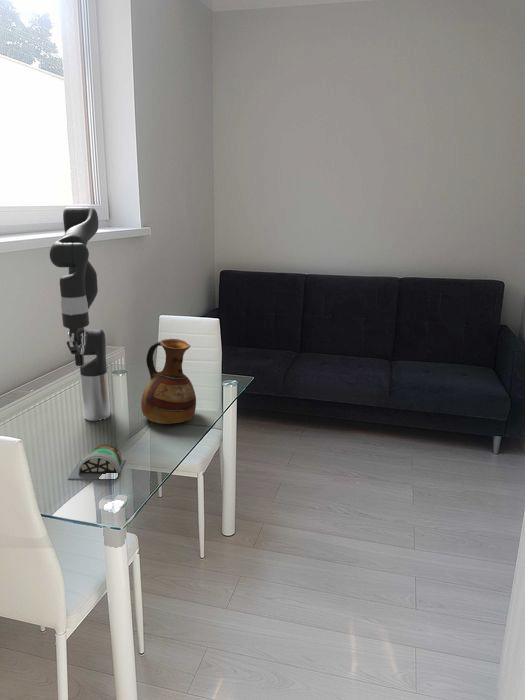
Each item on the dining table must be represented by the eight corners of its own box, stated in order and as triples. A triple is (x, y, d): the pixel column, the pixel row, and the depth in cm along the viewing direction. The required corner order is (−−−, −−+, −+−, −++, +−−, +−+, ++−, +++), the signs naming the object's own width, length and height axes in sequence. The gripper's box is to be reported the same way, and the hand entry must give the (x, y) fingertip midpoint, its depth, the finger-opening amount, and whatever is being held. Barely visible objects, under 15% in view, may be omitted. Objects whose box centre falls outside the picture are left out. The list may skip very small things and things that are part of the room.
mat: (80, 460, 164) (79, 459, 163) (125, 460, 164) (125, 459, 164) (68, 479, 153) (67, 478, 153) (116, 479, 153) (116, 478, 153)
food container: (125, 440, 163) (117, 455, 153) (126, 458, 165) (119, 474, 155) (84, 440, 162) (75, 456, 153) (86, 458, 164) (76, 475, 155)
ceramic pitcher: (186, 432, 183) (183, 350, 175) (132, 427, 187) (127, 346, 179) (203, 410, 202) (202, 335, 193) (154, 406, 206) (150, 332, 197)
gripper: (69, 305, 164) (74, 358, 169) (54, 315, 151) (60, 372, 156) (93, 305, 164) (98, 358, 169) (80, 315, 151) (85, 372, 157)
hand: (80, 365), depth 163 cm, fingers closed
